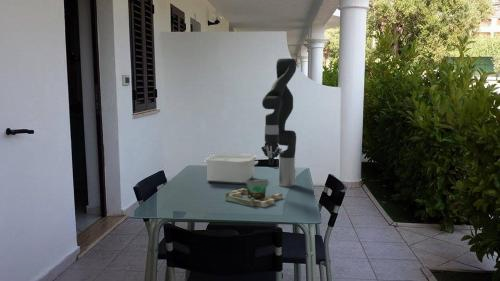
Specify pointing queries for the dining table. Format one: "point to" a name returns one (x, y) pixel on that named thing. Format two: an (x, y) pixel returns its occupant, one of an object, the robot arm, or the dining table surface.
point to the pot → (230, 168)
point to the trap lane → (238, 193)
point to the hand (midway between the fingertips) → (271, 164)
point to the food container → (256, 188)
